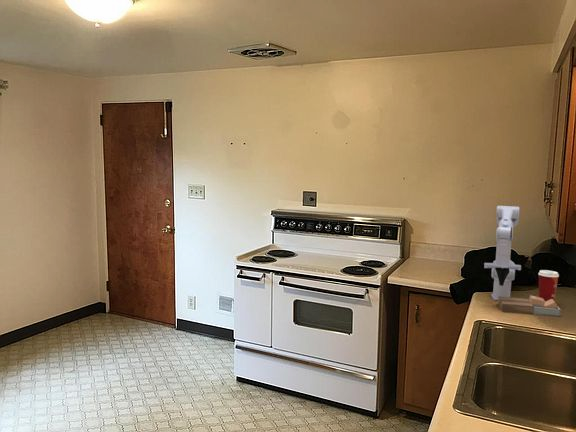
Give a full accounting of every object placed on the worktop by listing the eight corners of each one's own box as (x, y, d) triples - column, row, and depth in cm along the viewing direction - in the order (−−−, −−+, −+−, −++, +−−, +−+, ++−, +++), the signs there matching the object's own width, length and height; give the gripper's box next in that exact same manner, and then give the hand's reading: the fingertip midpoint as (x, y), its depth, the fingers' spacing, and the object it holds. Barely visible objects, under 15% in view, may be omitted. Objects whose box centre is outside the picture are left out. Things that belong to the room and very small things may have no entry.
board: (497, 304, 219) (498, 296, 219) (527, 306, 216) (527, 298, 216) (502, 311, 208) (502, 303, 207) (533, 314, 205) (533, 306, 204)
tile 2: (551, 298, 210) (554, 303, 210) (540, 303, 211) (543, 308, 211) (554, 301, 205) (558, 307, 205) (543, 307, 206) (546, 312, 206)
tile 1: (528, 300, 212) (530, 295, 212) (541, 303, 211) (542, 298, 211) (530, 303, 208) (532, 298, 207) (543, 306, 206) (545, 301, 206)
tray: (527, 306, 216) (528, 300, 215) (553, 308, 213) (553, 302, 213) (533, 314, 205) (533, 307, 205) (560, 316, 202) (560, 309, 202)
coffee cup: (559, 307, 215) (561, 274, 213) (538, 306, 216) (541, 273, 215) (553, 302, 223) (555, 270, 221) (533, 301, 224) (535, 269, 223)
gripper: (486, 255, 210) (484, 285, 211) (523, 257, 206) (521, 288, 208) (484, 252, 216) (482, 282, 218) (520, 254, 213) (517, 284, 214)
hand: (501, 285), depth 213 cm, fingers closed
